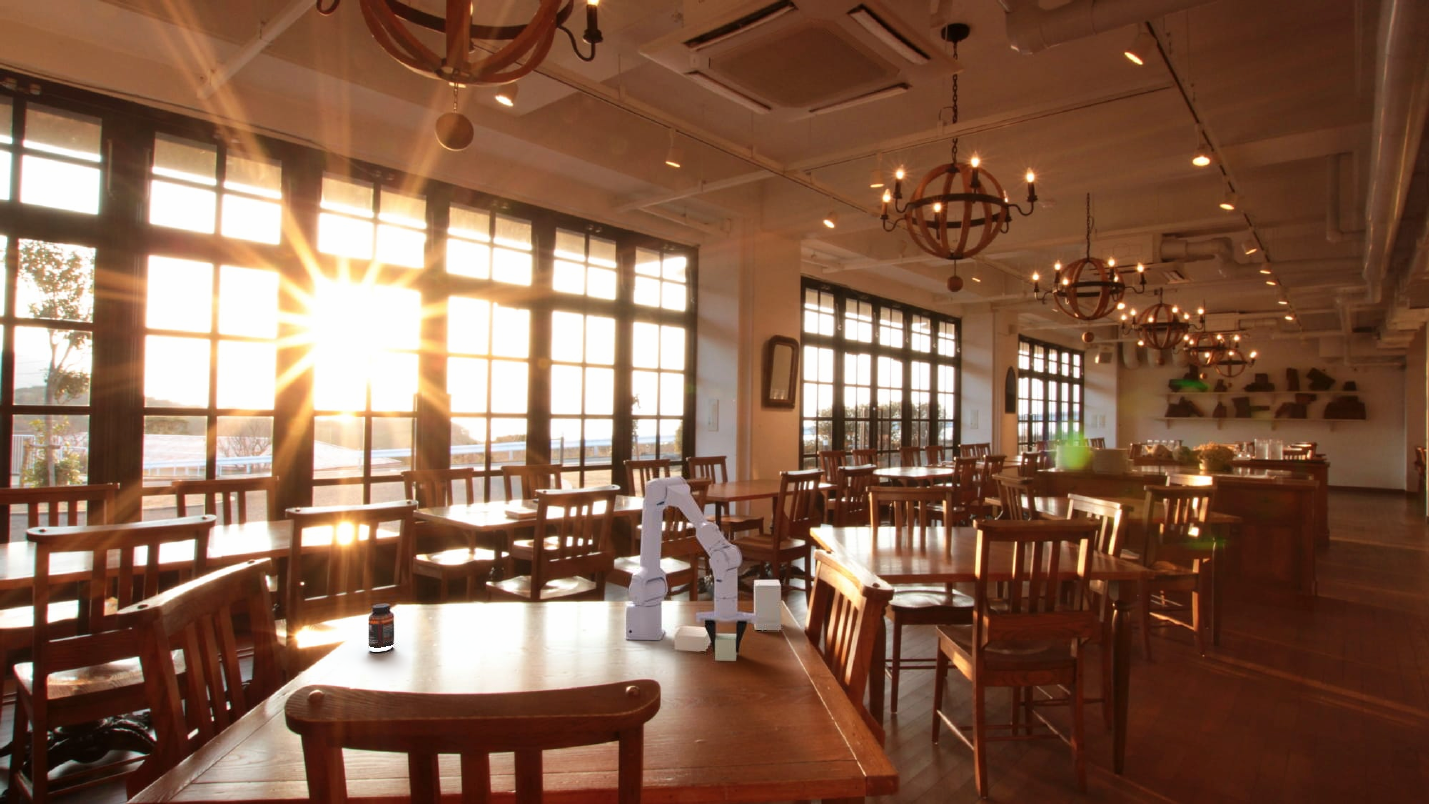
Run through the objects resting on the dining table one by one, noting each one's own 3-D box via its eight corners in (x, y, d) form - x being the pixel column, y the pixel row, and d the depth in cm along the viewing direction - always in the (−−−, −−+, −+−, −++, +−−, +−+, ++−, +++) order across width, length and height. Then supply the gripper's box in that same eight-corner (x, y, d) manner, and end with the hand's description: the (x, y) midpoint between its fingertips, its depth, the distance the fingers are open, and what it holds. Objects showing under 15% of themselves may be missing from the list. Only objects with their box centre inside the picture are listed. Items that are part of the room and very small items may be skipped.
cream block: (674, 650, 182) (674, 635, 182) (682, 641, 190) (682, 625, 190) (705, 653, 180) (705, 637, 180) (711, 643, 188) (711, 627, 188)
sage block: (715, 660, 174) (715, 639, 174) (716, 653, 179) (716, 633, 179) (735, 660, 174) (735, 640, 174) (736, 654, 178) (736, 633, 179)
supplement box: (781, 631, 197) (781, 585, 197) (754, 631, 197) (754, 585, 197) (779, 623, 204) (779, 579, 204) (753, 623, 204) (753, 579, 204)
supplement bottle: (398, 646, 185) (399, 602, 185) (386, 654, 179) (386, 608, 179) (377, 645, 186) (377, 601, 186) (363, 653, 180) (363, 608, 180)
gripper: (694, 599, 173) (695, 656, 173) (754, 600, 172) (755, 657, 172) (697, 592, 180) (698, 646, 180) (755, 593, 179) (755, 647, 179)
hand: (726, 651), depth 176 cm, fingers closed on sage block, 5 cm apart
